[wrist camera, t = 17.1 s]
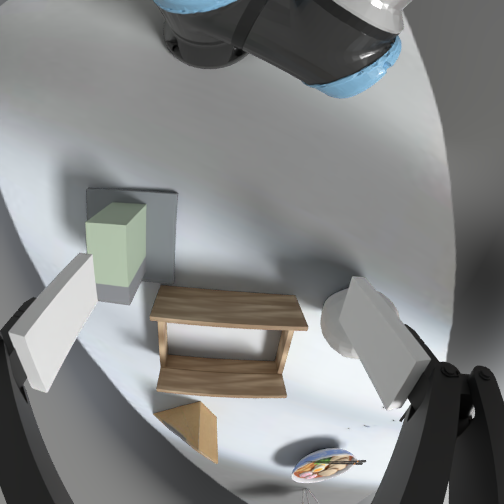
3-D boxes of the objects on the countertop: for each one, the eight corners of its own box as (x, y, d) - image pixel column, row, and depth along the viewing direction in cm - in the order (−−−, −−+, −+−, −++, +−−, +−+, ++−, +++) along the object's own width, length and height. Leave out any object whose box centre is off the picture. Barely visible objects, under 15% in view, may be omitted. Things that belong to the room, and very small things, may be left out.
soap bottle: (374, 266, 55) (451, 349, 31) (378, 302, 58) (442, 388, 35) (306, 290, 55) (356, 394, 32) (315, 325, 59) (358, 427, 35)
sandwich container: (151, 412, 67) (144, 458, 53) (199, 399, 66) (198, 450, 52) (170, 428, 70) (165, 472, 57) (217, 417, 69) (218, 464, 55)
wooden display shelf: (160, 284, 52) (149, 316, 43) (295, 295, 56) (308, 326, 46) (163, 357, 59) (156, 391, 50) (278, 364, 62) (286, 397, 53)
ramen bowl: (272, 465, 83) (275, 483, 76) (311, 434, 76) (317, 455, 69) (326, 468, 90) (330, 484, 82) (365, 438, 83) (373, 456, 75)
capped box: (112, 202, 45) (85, 222, 35) (146, 204, 45) (126, 225, 35) (114, 268, 49) (93, 300, 39) (146, 271, 50) (129, 305, 40)
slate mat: (88, 188, 44) (86, 189, 43) (178, 193, 46) (177, 194, 45) (93, 272, 50) (91, 275, 49) (174, 281, 52) (173, 284, 51)
